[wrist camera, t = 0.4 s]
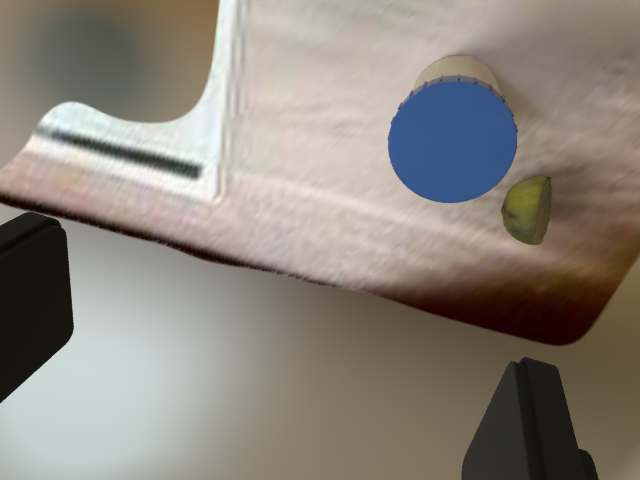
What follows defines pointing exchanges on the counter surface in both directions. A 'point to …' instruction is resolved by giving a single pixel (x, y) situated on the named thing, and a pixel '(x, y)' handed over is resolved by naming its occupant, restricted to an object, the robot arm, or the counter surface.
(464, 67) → the jar
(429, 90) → the lid
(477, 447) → the robot arm
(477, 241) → the counter surface
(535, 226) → the lime
